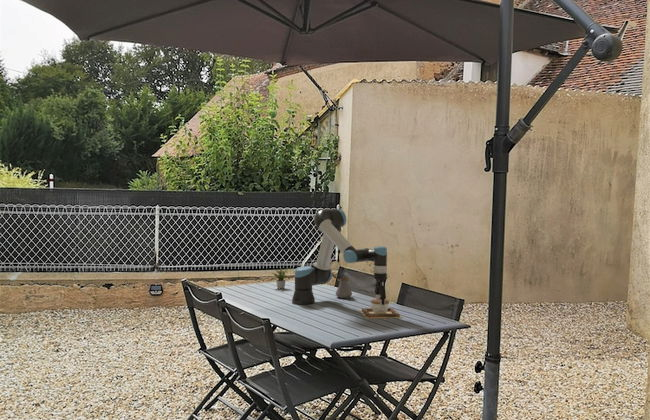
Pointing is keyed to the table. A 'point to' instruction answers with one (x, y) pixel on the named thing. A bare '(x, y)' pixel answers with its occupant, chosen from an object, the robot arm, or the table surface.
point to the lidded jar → (376, 306)
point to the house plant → (280, 278)
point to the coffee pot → (343, 288)
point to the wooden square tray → (370, 314)
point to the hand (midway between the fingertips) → (380, 307)
